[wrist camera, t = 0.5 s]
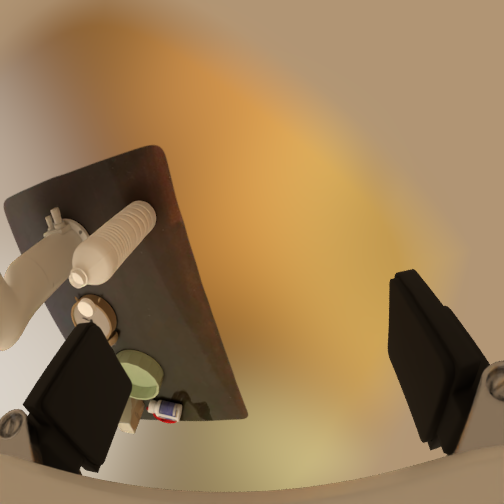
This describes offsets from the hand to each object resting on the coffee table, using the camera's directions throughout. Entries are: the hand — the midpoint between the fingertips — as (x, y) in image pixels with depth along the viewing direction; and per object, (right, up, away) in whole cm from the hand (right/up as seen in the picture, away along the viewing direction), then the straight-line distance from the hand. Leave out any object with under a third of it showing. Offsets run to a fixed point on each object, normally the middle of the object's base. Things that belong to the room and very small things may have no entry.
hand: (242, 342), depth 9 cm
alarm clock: (-36, -14, +60) cm, 72 cm away
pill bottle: (-19, -42, +69) cm, 83 cm away
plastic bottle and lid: (-21, +8, +50) cm, 54 cm away
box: (-33, -40, +72) cm, 89 cm away
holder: (-29, -28, +66) cm, 78 cm away
